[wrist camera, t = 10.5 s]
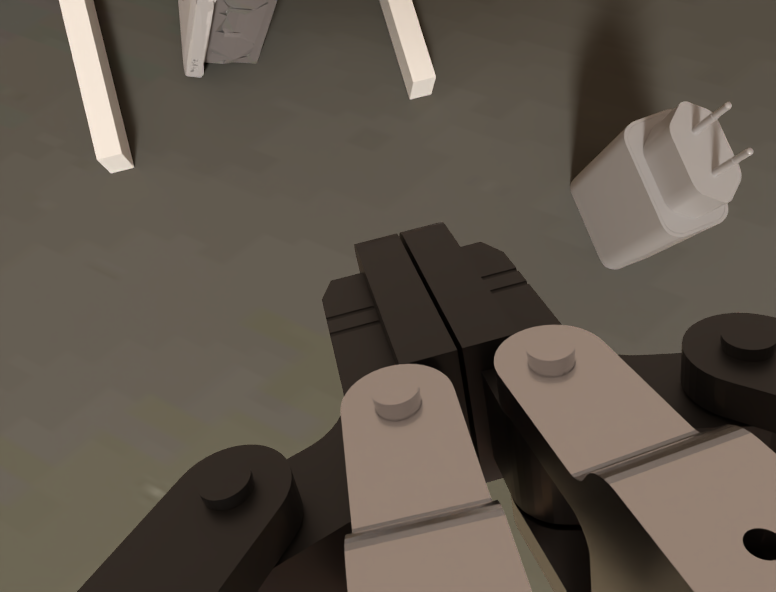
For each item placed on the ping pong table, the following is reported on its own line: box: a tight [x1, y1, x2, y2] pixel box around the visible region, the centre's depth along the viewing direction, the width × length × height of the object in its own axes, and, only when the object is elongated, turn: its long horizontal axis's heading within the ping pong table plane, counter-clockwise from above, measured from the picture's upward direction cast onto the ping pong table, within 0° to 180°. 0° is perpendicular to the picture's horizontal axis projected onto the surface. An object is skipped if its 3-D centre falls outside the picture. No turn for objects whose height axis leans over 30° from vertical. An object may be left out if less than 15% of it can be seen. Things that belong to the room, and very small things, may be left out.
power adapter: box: [570, 102, 753, 269], centre depth 30 cm, size 3×5×12 cm, turn 21°
